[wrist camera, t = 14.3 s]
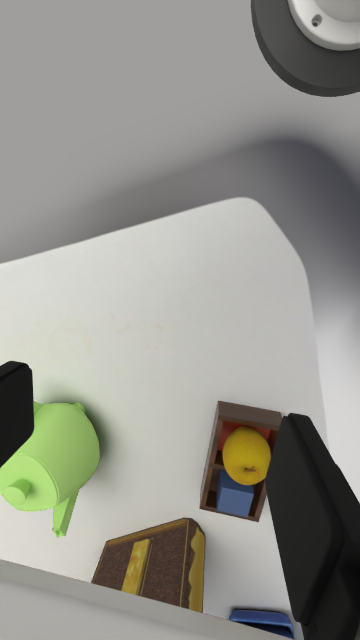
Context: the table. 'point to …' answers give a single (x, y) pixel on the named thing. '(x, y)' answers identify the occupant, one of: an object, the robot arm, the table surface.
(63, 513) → the teapot
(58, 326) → the table surface
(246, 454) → the apple
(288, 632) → the flower pot
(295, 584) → the robot arm
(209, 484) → the tray
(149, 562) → the book
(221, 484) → the blue block
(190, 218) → the table surface
